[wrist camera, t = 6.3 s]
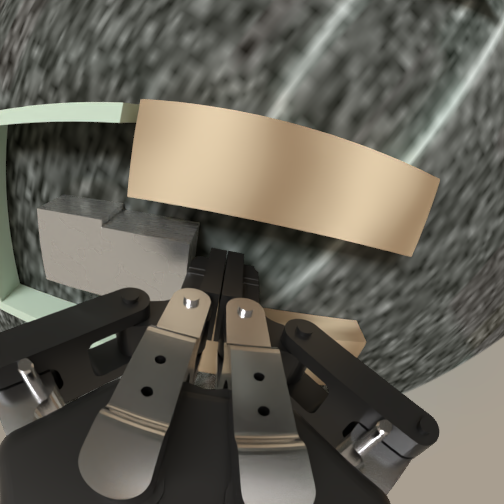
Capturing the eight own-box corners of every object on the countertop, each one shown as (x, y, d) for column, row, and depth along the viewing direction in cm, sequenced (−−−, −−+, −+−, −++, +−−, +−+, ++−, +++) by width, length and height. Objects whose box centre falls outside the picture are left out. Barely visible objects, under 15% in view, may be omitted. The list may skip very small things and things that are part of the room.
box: (146, 105, 10) (123, 102, 8) (133, 329, 16) (120, 357, 14) (2, 111, 9) (-25, 115, 7) (15, 289, 15) (-2, 307, 13)
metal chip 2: (199, 222, 13) (189, 243, 11) (191, 291, 15) (182, 320, 12) (124, 209, 13) (101, 227, 10) (123, 276, 14) (106, 302, 12)
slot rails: (418, 170, 12) (440, 179, 10) (331, 363, 17) (338, 385, 16) (157, 102, 10) (140, 98, 9) (140, 333, 16) (131, 355, 14)
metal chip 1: (124, 203, 12) (101, 219, 10) (124, 271, 14) (106, 296, 12) (64, 194, 12) (37, 208, 10) (68, 258, 14) (46, 278, 12)
